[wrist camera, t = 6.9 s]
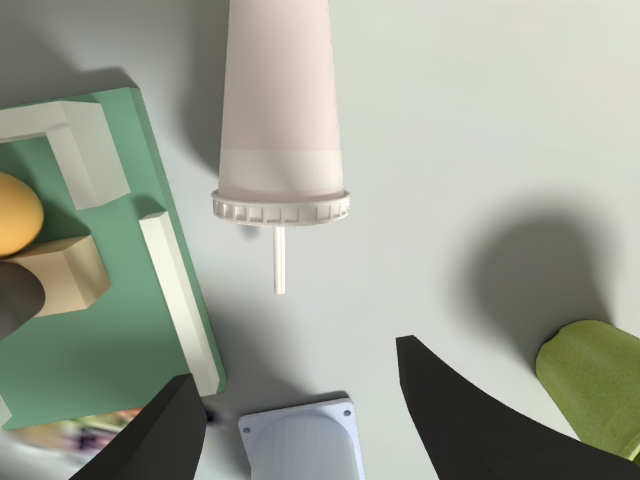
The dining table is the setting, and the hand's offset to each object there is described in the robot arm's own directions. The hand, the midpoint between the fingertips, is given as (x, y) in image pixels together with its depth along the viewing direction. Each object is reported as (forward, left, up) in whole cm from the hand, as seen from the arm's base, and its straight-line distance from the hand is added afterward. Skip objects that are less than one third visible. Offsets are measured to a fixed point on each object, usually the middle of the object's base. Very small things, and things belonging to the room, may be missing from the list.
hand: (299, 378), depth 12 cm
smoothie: (+14, -2, -7) cm, 16 cm away
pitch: (+2, +13, -9) cm, 16 cm away
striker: (+3, +13, -8) cm, 16 cm away
